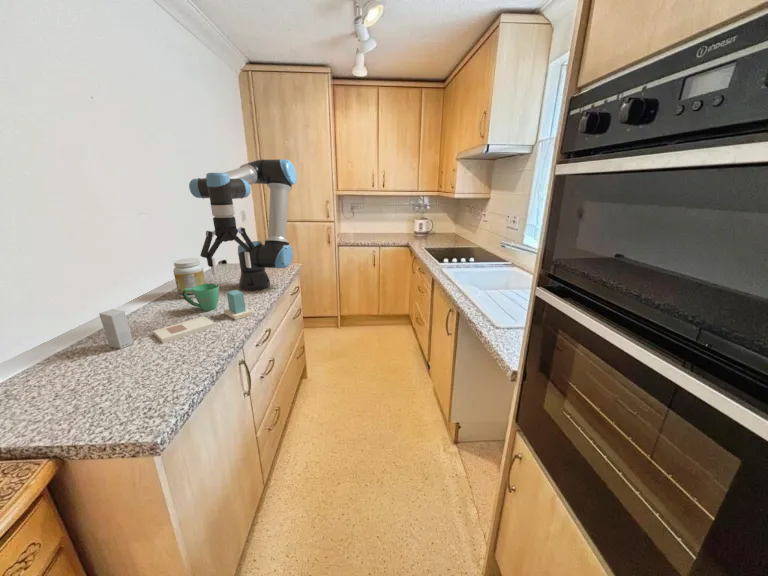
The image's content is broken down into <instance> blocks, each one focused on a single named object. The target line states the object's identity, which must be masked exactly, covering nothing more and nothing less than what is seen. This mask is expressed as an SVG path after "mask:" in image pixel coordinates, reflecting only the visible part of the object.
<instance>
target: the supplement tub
mask: <svg viewBox="0 0 768 576" xmlns="http://www.w3.org/2000/svg"><path fill="white" fill-rule="evenodd" d="M173 266H174V268H173V269H172V271H173V275H174V280H175V285H176V289H177V293H178V296H179V297H181V298H182V299H184V297H183V294H182V292H183V290H184V289H185V288H193V287H195V286H198V285H202V284H207V283H206V279H205V278H206V277H205V273H204V272H205V271H204V267H203V265H201V262H200V259H199V258H195V257H193V258H192V257H189V258H182V259H177V260H174V262H173ZM186 294H187V296H188V297H189V298H190V299H193V298H196V297H195V295H194V293H193V292H186Z"/></svg>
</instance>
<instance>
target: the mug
mask: <svg viewBox="0 0 768 576" xmlns="http://www.w3.org/2000/svg"><path fill="white" fill-rule="evenodd" d="M186 292H193V293H194V295H195V298H196V301H197V302H198V303H197V302H194V300H192V298H189V297H188V296H187V294H186ZM219 292H220V286H219V284H216V283H206V284H202V285H198V286H195V287H193V288H185V289H184V290H183V292H182V294H183V297H184V298H183V299H184V300H185V301H186V302H187V303H189V304H190V305H192V306H194V307H195V308H196V307H197V308H199V309H202V310H203V311H204V312H210V311H211V310H212V311H214V310H217V306H218V302H219Z"/></svg>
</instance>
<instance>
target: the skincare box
mask: <svg viewBox="0 0 768 576" xmlns="http://www.w3.org/2000/svg"><path fill="white" fill-rule="evenodd" d="M98 315H99V318H100V320H101V321H100V322H101V324H102V328H103V331H104V334H105V338H106V340H107V344H108V346H109V347H111V348H114V349H119V350H122V349H124V348H127V347H128V346H131V345H134V339H133V337H132V332H131V330H130V326H129V322H128V319H127V316H126V313H125V310H119V309H115V308H114V309H113V308H112V309H108V310H107V311H102V312H99V314H98Z"/></svg>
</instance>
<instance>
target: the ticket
mask: <svg viewBox="0 0 768 576" xmlns="http://www.w3.org/2000/svg"><path fill="white" fill-rule="evenodd" d="M217 327H218V322H217V321H215V319H212V318H211V317H210V316H208V315H203V316H200V317H195V318H192V319H189V320H185V321H182V322H178V323H175V324H172V325H168V326H165V327H162V328H158V329H154V330H152V332H153V335H154V336H155V337H156V338H157V339H158V340H160V341H159V342H161V343H162V344H164V343H165V344H166V343H169V342H171V341H175V340H178V339H180V338H184V337H187V336H190V335H193V334H196V333H200V332H203V331H206V330H209V329H210V330H211V329H213V328H217Z"/></svg>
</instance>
